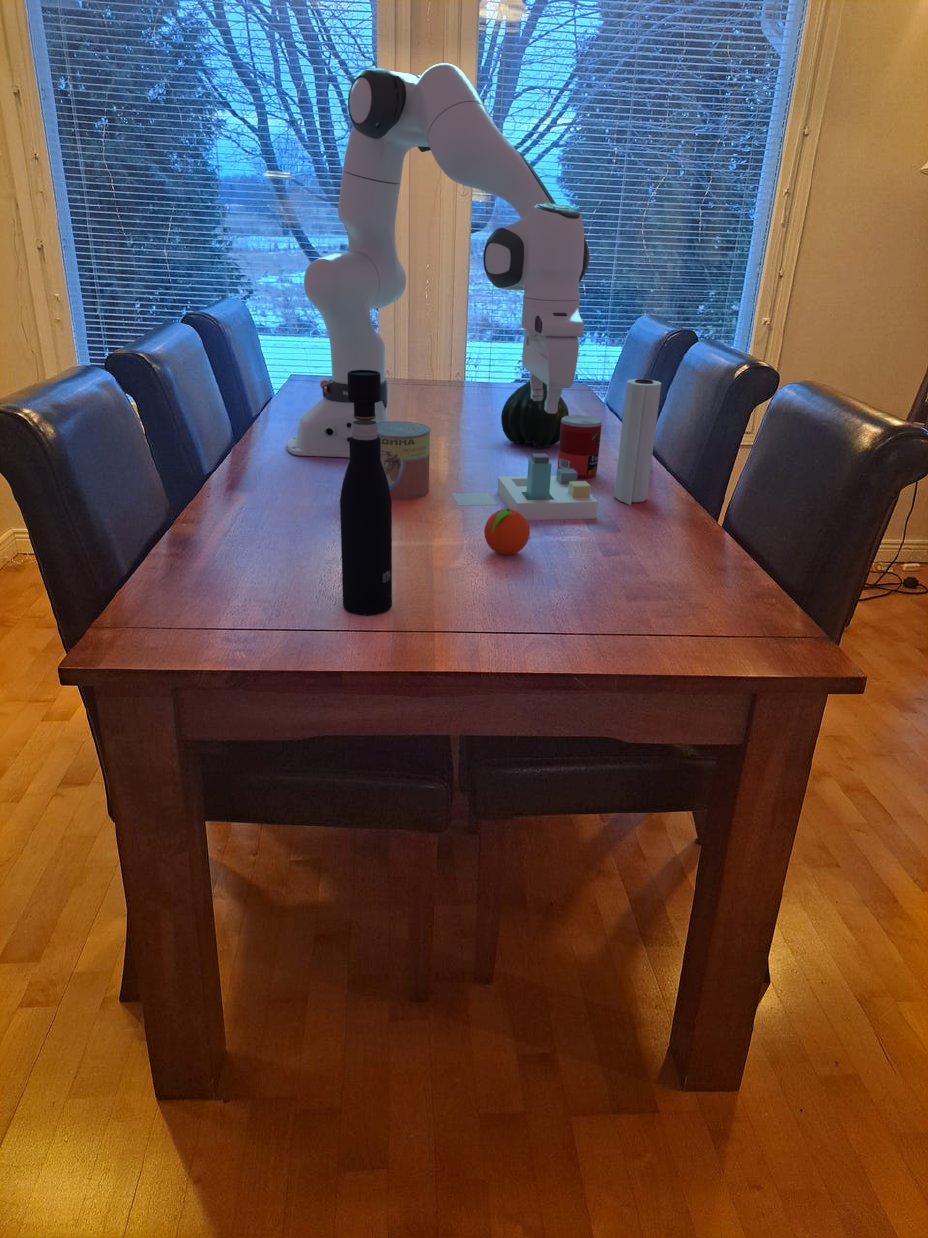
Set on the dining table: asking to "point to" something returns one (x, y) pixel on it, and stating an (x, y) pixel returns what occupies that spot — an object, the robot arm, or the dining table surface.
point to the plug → (538, 477)
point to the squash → (531, 418)
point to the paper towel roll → (637, 440)
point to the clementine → (507, 532)
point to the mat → (473, 499)
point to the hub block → (550, 497)
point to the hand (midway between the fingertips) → (543, 406)
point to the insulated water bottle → (365, 506)
